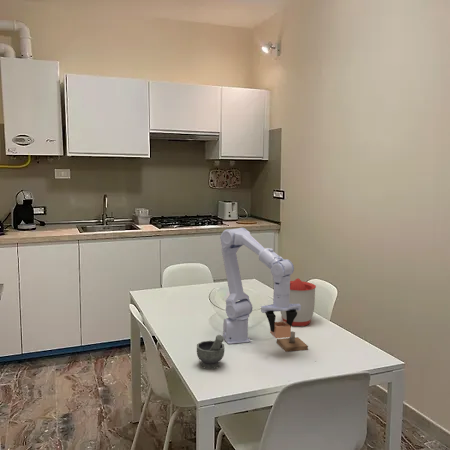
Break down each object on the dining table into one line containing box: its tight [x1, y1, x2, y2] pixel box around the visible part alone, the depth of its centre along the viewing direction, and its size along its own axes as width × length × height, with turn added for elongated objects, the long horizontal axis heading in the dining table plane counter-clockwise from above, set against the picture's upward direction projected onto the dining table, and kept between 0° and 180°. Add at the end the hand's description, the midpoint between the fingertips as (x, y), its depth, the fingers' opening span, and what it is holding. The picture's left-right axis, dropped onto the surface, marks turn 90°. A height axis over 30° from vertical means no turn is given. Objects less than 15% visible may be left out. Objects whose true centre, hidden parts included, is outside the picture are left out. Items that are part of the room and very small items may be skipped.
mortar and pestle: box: [196, 334, 225, 370], centre depth 156 cm, size 11×9×12 cm
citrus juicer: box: [279, 277, 317, 327], centre depth 201 cm, size 16×17×20 cm
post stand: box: [276, 330, 309, 353], centre depth 175 cm, size 9×9×6 cm
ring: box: [269, 320, 292, 339], centre depth 165 cm, size 6×6×4 cm
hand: (280, 330), depth 165 cm, fingers closed on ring, 6 cm apart
